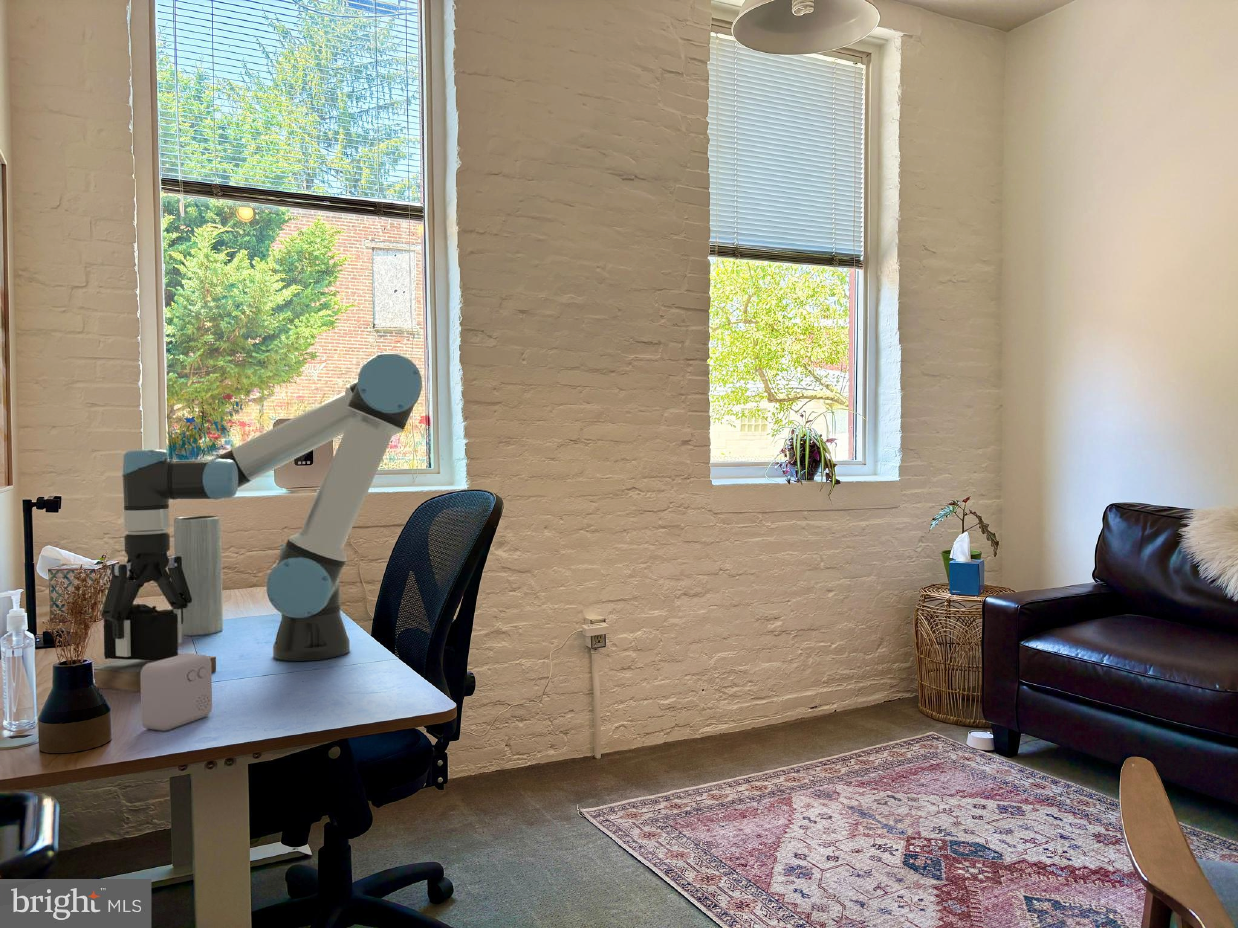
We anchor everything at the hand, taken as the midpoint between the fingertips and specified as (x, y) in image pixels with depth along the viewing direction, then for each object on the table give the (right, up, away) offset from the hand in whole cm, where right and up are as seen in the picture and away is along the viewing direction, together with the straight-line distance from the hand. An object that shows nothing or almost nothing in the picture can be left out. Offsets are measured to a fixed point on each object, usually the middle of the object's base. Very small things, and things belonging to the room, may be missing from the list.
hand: (149, 649), depth 169 cm
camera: (0, -1, 0) cm, 1 cm away
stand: (0, -5, 0) cm, 5 cm away
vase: (-11, -5, +43) cm, 45 cm away
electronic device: (+19, -6, -28) cm, 35 cm away
